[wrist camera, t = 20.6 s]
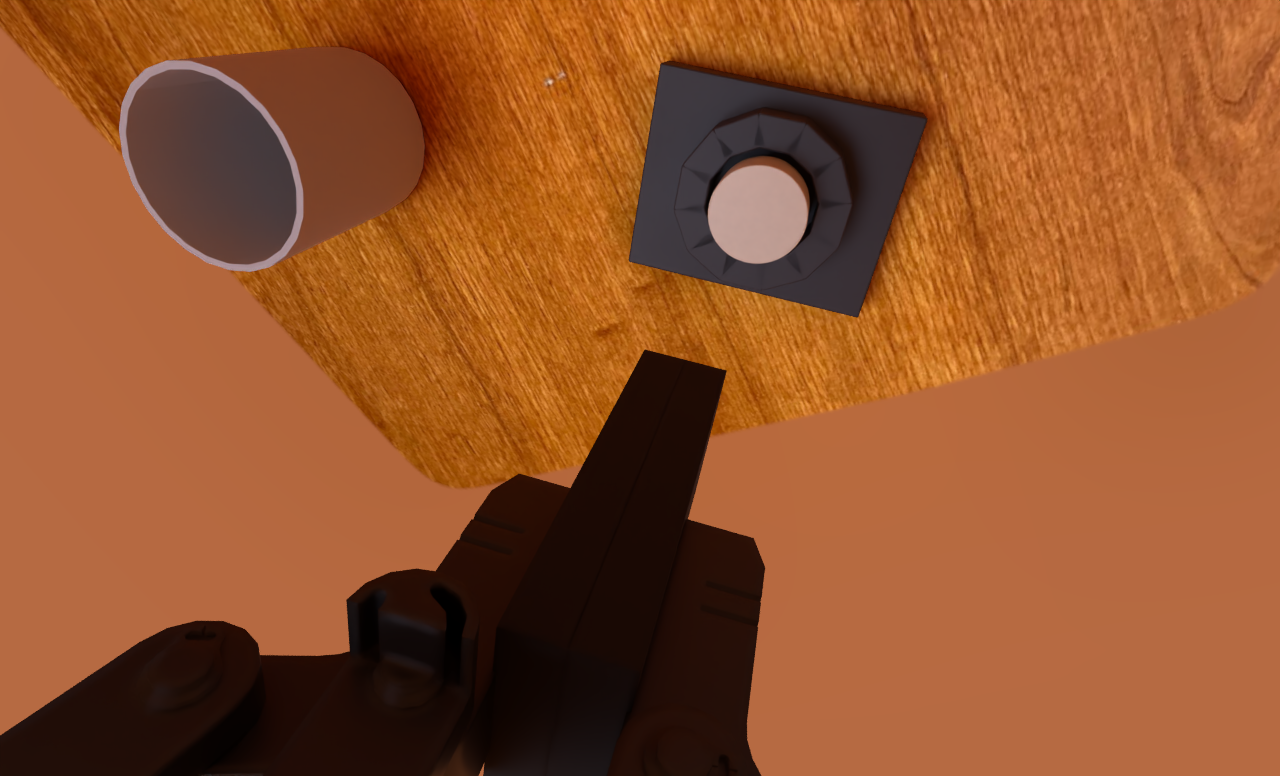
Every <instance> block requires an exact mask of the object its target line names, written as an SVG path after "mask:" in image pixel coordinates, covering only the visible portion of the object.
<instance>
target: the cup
mask: <svg viewBox="0 0 1280 776" xmlns="http://www.w3.org/2000/svg"><path fill="white" fill-rule="evenodd" d="M119 132H120V139H121V146H122V154H123V158H124V161H125V164H126V166H127V169H128V172H129V175H130V178H131V181H132V184H133V185H134V187H135V189H136V191H137V192H138V194H139V196H140V198H141V199H142V201H143V203H144V205H145V206H146V208H147V210H148V211H149V212H150V213H151V215H152V216H153V217H154V218H155V220H156V221H157V222H158V223H159V225H160V226H161V227H162V228H163V230H164V231H165V232H166V233H168V234H169V235H170V236H171V237H172V238H173V239H174V240H175V241H177V242H178V243H179V244H180V245H181V246H182V247H183V248H184V249H186V250H188V251H189V252H191V253H192V254H194V255H196V256H197V257H199V258H201V259H202V260H204V261H205V262H207V263H210V264H213V265H216V266H219V267H222V268H225V269H228V270H235V271H248V272H251V271H255V270H259V269H263V268H267V267H271V266H273V265H275V264H277V263H279V262H281V261H283V260H286V259H288V258H290V257H292V256H294V255H296V254H298V253H300V252H302V251H305V250H307V249H309V248H311V247H313V246H315V245H317V244H319V243H322V242H324V241H326V240H328V239H330V238H332V237H334V236H336V235H339V234H341V233H343V232H345V231H347V230H349V229H351V228H353V227H355V226H358V225H360V224H362V223H364V222H366V221H368V220H370V219H372V218H375V217H377V216H379V215H381V214H383V213H385V212H387V211H388V210H390V209H391V208H393V207H395V206H396V205H398V204H399V203H401V202H402V201H403V200H405V199H406V198H407V197H408V196H409V194H410V193H411V192H412V190H413V189H414V188H415V186H416V185H417V183H418V180H419V177H420V174H421V172H422V169H423V163H424V150H425V144H424V138H423V131H422V125H421V122H420V119H419V117H418V114H417V111H416V109H415V106H414V104H413V102H412V100H411V98H410V97H409V95H408V94H407V92H406V91H405V89H404V87H403V86H402V84H401V83H400V81H399V80H398V79H397V78H396V77H395V76H394V75H393V74H392V73H391V72H390V71H389V70H388V69H387V68H386V67H385V66H384V65H382V64H381V63H379V62H377V61H376V60H374V59H373V58H371V57H370V56H368V55H366V54H365V53H362V52H359V51H355V50H352V49H349V48H346V47H310V48H299V49H288V50H277V51H266V52H255V53H244V54H233V55H223V56H212V57H201V58H190V59H179V60H168V61H164V62H161V63H159V64H156V65H154V66H151V67H149V68H147V69H145V70H144V71H143V72H142V73H141V74H140V75H139V76H138V77H137V78H136V79H135V80H134V81H133V82H132V83H131V84H130V86H129V89H128V91H127V94H126V96H125V98H124V101H123V103H122V107H121V116H120V126H119Z"/></svg>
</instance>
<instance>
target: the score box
mask: <svg viewBox="0 0 1280 776" xmlns="http://www.w3.org/2000/svg"><path fill="white" fill-rule="evenodd" d="M926 123H927V118H926V116H925V115H924V114H923V113H920V112H915V111H910V110H905V109H901V108H896V107H891V106H886V105H881V104H876V103H871V102H867V101H862V100H857V99H852V98H847V97H842V96H838V95H833V94H828V93H823V92H818V91H813V90H809V89H804V88H799V87H794V86H789V85H784V84H780V83H775V82H770V81H765V80H760V79H755V78H751V77H746V76H741V75H736V74H731V73H726V72H722V71H717V70H712V69H707V68H702V67H697V66H693V65H688V64H683V63H678V62H673V61H667V62H664V63H661V65H660V71H659V77H658V83H657V89H656V96H655V102H654V108H653V114H652V120H651V126H650V132H649V139H648V145H647V151H646V157H645V163H644V169H643V175H642V182H641V188H640V194H639V200H638V206H637V212H636V218H635V225H634V231H633V237H632V243H631V249H630V255H629V261H630V262H633V263H637V264H641V265H645V266H649V267H654V268H658V269H662V270H666V271H670V272H674V273H678V274H682V275H686V276H690V277H694V278H698V279H702V280H707V281H711V282H715V283H719V284H723V285H727V286H731V287H735V288H739V289H743V290H747V291H751V292H756V293H760V294H764V295H768V296H772V297H776V298H780V299H784V300H788V301H792V302H796V303H800V304H804V305H809V306H813V307H817V308H821V309H825V310H829V311H833V312H837V313H841V314H845V315H849V316H853V317H858V316H859V313H860V310H861V308H862V305H863V302H864V299H865V296H866V293H867V291H868V288H869V285H870V282H871V279H872V276H873V273H874V271H875V268H876V265H877V262H878V259H879V256H880V254H881V251H882V248H883V245H884V242H885V239H886V236H887V234H888V231H889V228H890V225H891V222H892V219H893V217H894V214H895V211H896V208H897V205H898V202H899V200H900V197H901V194H902V191H903V188H904V185H905V182H906V180H907V177H908V174H909V171H910V168H911V165H912V163H913V160H914V157H915V154H916V151H917V148H918V145H919V143H920V140H921V137H922V134H923V131H924V128H925V126H926ZM755 156H771V157H775V158H779V159H781V160H783V161H786V162H787V163H789V164H790V165H792V166H793V167H794V168H795V169H796V170H797V171H798V172H799V173H800V174H801V176H802V177H803V179H804V181H805V183H806V185H807V188H808V192H809V198H810V206H809V215H808V222H807V226H806V229H805V232H804V234H803V236H802V238H801V240H800V241H799V243H798V244H797V245H796V246H795V248H794V249H793V250H791V251H790V252H789V253H788V254H786V255H785V256H783V257H782V258H780V259H777V260H775V261H772V262H768V263H761V264H754V263H747V262H743V261H740V260H737V259H735V258H733V257H731V256H730V255H728V254H727V253H726V252H725V251H723V250H722V249H721V248H720V246H719V245H718V244H717V243H716V241H715V239H714V238H713V236H712V233H711V231H710V227H709V223H708V207H709V202H710V199H711V196H712V194H713V192H714V190H715V189H716V187H717V185H718V184H719V182H720V181H721V179H722V178H723V176H724V175H725V174H726V172H727V171H728V170H729V169H730V168H731V167H733V166H734V165H735V164H737V163H739V162H740V161H742V160H745V159H747V158H751V157H755Z"/></svg>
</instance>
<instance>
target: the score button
mask: <svg viewBox="0 0 1280 776" xmlns="http://www.w3.org/2000/svg"><path fill="white" fill-rule="evenodd" d="M809 206H810V198H809V192H808V188H807V185H806V183H805V181H804V179H803V177H802V176H801V174H800V173H799V172H798V171H797V170H796V169H795V168H794V167H793V166H792V165H790V164H789V163H787V162H786V161H783V160H781V159H779V158H775V157H771V156H755V157H751V158H747V159H745V160H742V161H740V162H739V163H737V164H735V165H734V166H733V167H731V168H730V169H729V170H728V171H727V172H726V174H725V175H724V176H723V178H722V179H721V181H720V182H719V184H718V185H717V187H716V189H715V190H714V192H713V194H712V196H711V199H710V202H709V207H708V223H709V227H710V231H711V233H712V236H713V238H714V239H715V241H716V243H717V244H718V245H719V246H720V248H721V249H722V250H723V251H725V252H726V253H727V254H728V255H730V256H731V257H733V258H735V259H737V260H740V261H743V262H747V263H754V264H761V263H768V262H772V261H775V260H777V259H780V258H782V257H783V256H785V255H786V254H788V253H789V252H790V251H791V250H793V249H794V248H795V246H796V245H797V244H798V243H799V241H800V240H801V238H802V236H803V234H804V232H805V229H806V226H807V222H808V215H809Z"/></svg>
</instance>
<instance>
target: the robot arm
mask: <svg viewBox="0 0 1280 776" xmlns="http://www.w3.org/2000/svg"><path fill="white" fill-rule="evenodd" d="M725 375H726V370H722V369H718V368H714V367H711V366H707V365H703V364H699V363H695V362H691V361H687V360H683V359H680V358H676V357H672V356H668V355H664V354H660V353H656V352H652V351H648V350H644V352H643V354H642V356H641V357H640V359H639V361H638V363H637V365H636V367H635V369H634V371H633V372H632V374H631V376H630V378H629V380H628V382H627V384H626V385H625V387H624V389H623V391H622V393H621V395H620V397H619V399H618V400H617V402H616V404H615V406H614V408H613V410H612V412H611V413H610V415H609V417H608V419H607V421H606V423H605V425H604V427H603V428H602V430H601V432H600V434H599V436H598V438H597V440H596V442H595V443H594V445H593V447H592V449H591V451H590V453H589V455H588V456H587V458H586V460H585V462H584V464H583V466H582V468H581V470H580V471H579V473H578V475H577V477H576V479H575V481H574V483H573V484H572V487H571V488H568V487H564V486H561V485H557V484H554V483H550V482H547V481H543V480H540V479H536V478H533V477H529V476H526V475H522V474H518V475H516V476H514V477H513V478H511V479H510V480H508V481H506V482H505V483H503V484H501V485H500V486H498V487H496V488H495V489H493V490H492V491H491V492H490V494H489V495H488V496H487V498H486V499H485V501H484V502H483V504H482V505H481V506H480V508H479V509H478V511H477V512H476V514H475V517H474V519H473V520H471V521H470V523H469V524H468V525H467V527H466V528H465V530H464V531H463V532H462V534H461V537H460V540H457V541H456V543H455V544H454V546H453V547H452V549H451V550H450V551H449V553H448V554H447V556H446V557H445V559H444V560H443V561H442V563H441V564H440V566H439V567H438V568H437V570H436V571H429V570H422V569H411V570H403V571H396V572H390V573H388V574H385V575H383V576H381V577H379V578H376V579H374V580H372V581H369V582H367V583H365V584H364V585H363V586H362V587H361V588H360V589H359V590H357V591H356V592H355V593H354V594H353V595H351V596H350V597H349V598H348V599H347V614H348V629H349V644H350V652H345V653H342V654H336V655H323V656H278V655H276V656H275V655H271V656H270V655H267V656H266V655H260V654H259V647H258V643H257V642H256V641H255V640H254V639H253V638H252V637H251V636H250V634H249V633H248V632H247V631H246V630H245V629H243V628H240V627H237V626H235V625H232V624H230V623H227V622H224V621H194V622H190V623H186V624H182V625H178V626H174V627H170V628H166V629H165V630H163V631H161V632H159V633H157V634H155V635H153V636H151V637H149V638H147V639H145V640H143V641H141V642H139V643H138V644H136V645H135V646H133V647H132V648H130V649H129V650H127V651H126V652H124V653H123V654H121V655H120V656H118V657H117V658H115V659H114V660H112V661H111V662H109V663H108V664H106V665H105V666H103V667H102V668H100V669H99V670H97V671H96V672H94V673H93V674H91V675H90V676H88V677H87V678H85V679H84V680H82V681H81V682H79V683H78V684H77V685H75V686H73V687H72V688H70V689H69V690H68V691H66V692H64V693H63V694H62V695H60V696H59V697H57V698H56V699H54V700H53V701H51V702H50V703H48V704H47V705H45V706H44V707H42V708H41V709H39V710H38V711H36V712H35V713H33V714H32V715H30V716H29V717H27V718H26V719H24V720H23V721H21V722H20V723H18V724H17V725H15V726H14V727H12V728H11V729H9V730H8V731H6V732H5V733H4V734H2V735H0V776H478V775H479V773H480V771H481V769H482V767H483V764H484V774H483V776H761V774H760V773H759V770H758V768H757V767H756V765H755V763H754V761H753V759H752V756H751V752H750V749H749V745H748V741H747V716H748V708H749V699H750V691H751V682H752V674H753V664H754V657H755V648H756V640H757V631H758V627H757V626H758V622H759V614H760V606H761V603H760V601H761V597H762V589H763V580H764V572H765V566H764V563H763V561H762V559H761V556H760V554H759V551H758V548H757V546H756V543H755V541H754V538H751V537H747V536H744V535H740V534H737V533H733V532H729V531H726V530H723V529H719V528H716V527H712V526H709V525H705V524H702V523H698V522H695V521H691V520H688V516H689V513H690V509H691V505H692V502H693V498H694V494H695V491H696V487H697V483H698V479H699V475H700V471H701V468H702V464H703V460H704V456H705V452H706V449H707V445H708V441H709V437H710V433H711V429H712V425H713V422H714V418H715V414H716V410H717V406H718V402H719V398H720V394H721V391H722V387H723V383H724V379H725ZM484 762H485V763H484Z"/></svg>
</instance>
